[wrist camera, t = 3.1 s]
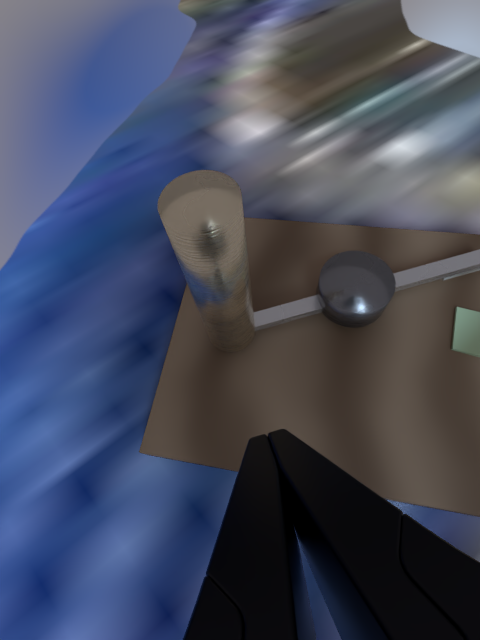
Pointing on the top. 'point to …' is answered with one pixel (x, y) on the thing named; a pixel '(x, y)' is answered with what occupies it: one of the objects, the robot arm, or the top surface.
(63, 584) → the top surface
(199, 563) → the top surface
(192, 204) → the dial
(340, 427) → the brown flat board
